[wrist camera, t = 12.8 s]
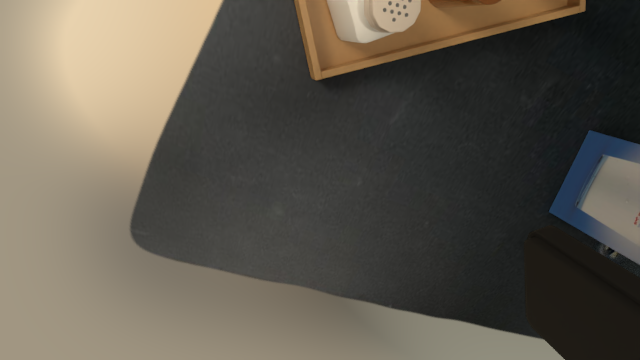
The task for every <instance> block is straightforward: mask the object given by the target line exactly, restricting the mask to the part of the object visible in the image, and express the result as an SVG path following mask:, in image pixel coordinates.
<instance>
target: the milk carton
mask: <svg viewBox="0 0 640 360" xmlns="http://www.w3.org/2000/svg"><path fill="white" fill-rule="evenodd" d="M549 212H550V213H552V214H553V215H555V216H557V217H559V218H560V219H562V220H564V221H565V222H567V223H569V224H571V225H572V226H574V227H576V228H577V229H579V230H581V231H583V232H584V233H586V234H588V235H589V236H591V237H593V238H595V239H596V240H598V241H600V242H601V243H603V244H605V245H607V246H608V247H610V248H612V249H613V250H615V251H617V252H619V253H620V254H622V255H624V256H625V257H627V258H629V259H631V260H632V261H634V262H636V263H637V264H639V265H640V145H639V144H635V143H632V142H629V141H625V140H622V139H618V138H615V137H611V136H608V135H605V134H601V133H598V132H594V131H591V130H589V132H588V134H587V136H586V138H585V140H584V142H583V144H582V146H581V148H580V150H579V152H578V154H577V156H576V158H575V160H574V162H573V164H572V166H571V168H570V170H569V172H568V174H567V176H566V178H565V180H564V182H563V184H562V186H561V188H560V190H559V192H558V194H557V196H556V198H555V200H554V202H553V204H552V206H551V208H550V210H549Z"/></svg>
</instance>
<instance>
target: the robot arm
mask: <svg viewBox="0 0 640 360" xmlns="http://www.w3.org/2000/svg"><path fill="white" fill-rule="evenodd" d="M524 262H525V301H526V317H527V320H528V322H529V324H530V325H531V327H532V328H533V329H534V330H535V331H536V332H537V333H538V334H539V335H540V336H541V337H542V338H543V339H544V340H545V341H547V343H549V344H550V345H551V346H552V347H553V348H554V349H555V350H556V351H557V352H558V353H559V354H560V355H561V356H562V357H563V358H564V359H565V360H640V278H639V277H638V276H636V275H634V274H633V273H631V272H629V271H628V270H626V269H624V268H623V267H621V266H619V265H618V264H616V263H614V262H613V261H611V260H609V259H608V258H606V257H604V256H603V255H601V254H600V253H598V252H596V251H595V250H593V249H591V248H590V247H588V246H586V245H585V244H583V243H581V242H580V241H578V240H576V239H575V238H573V237H571V236H570V235H568V234H566V233H565V232H563V231H561V230H560V229H558V228H557V227H554V226H547V227H544V228H541V229H538V230H536V231H533V232H531V233H529V235H528V239H527V240H525V242H524Z"/></svg>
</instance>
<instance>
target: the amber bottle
mask: <svg viewBox="0 0 640 360" xmlns="http://www.w3.org/2000/svg"><path fill="white" fill-rule="evenodd" d="M500 1H501V0H429V2H430V3H431V4H432V5H433V6H434V7H437V8H454V7H468V6H481V5H492V4H496V3H498V2H500Z"/></svg>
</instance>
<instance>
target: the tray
mask: <svg viewBox="0 0 640 360" xmlns="http://www.w3.org/2000/svg"><path fill="white" fill-rule="evenodd" d="M294 3H295V7H296V12H297V16H298V21H299V25H300V30H301V34H302V39H303V43H304V48H305V53H306V57H307V62H308V66H309V71H310V75H311V78H312V79H314V80H320V79H324V78H328V77H332V76H336V75H340V74H344V73H347V72H351V71H355V70H359V69H363V68H367V67H371V66H375V65H378V64H382V63H386V62H390V61H394V60H398V59H402V58H406V57H409V56H413V55H417V54H421V53H425V52H429V51H433V50H437V49H440V48H444V47H448V46H452V45H456V44H460V43H464V42H468V41H471V40H475V39H479V38H483V37H487V36H491V35H495V34H499V33H502V32H506V31H510V30H514V29H518V28H522V27H526V26H530V25H533V24H537V23H541V22H545V21H549V20H553V19H557V18H561V17H564V16H568V15H572V14H576V13H580V12H584V11H585V6H586V0H501V1H500V2H498V3H496V4H492V5H481V6H468V7H454V8H437V7H434V6H433V5H432V4H431V3H430V2H429V0H421V11H420V13H419V15H418V17H417V19H416V21H415V23H414V24H413V25H412V26H410V27H409V28H408V29H406V30H405V31H403V32H395V33H393V34H390V35H388V36H385V37H383V38H380V39H377V40H374V41H372V42H369V43H357V42H350V41H343V40H340V39H339V37H338V36H337V33H336V30H335V27H334V23H333V20H332V17H331V13H330V10H329V7H328V3H327V0H294Z"/></svg>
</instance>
